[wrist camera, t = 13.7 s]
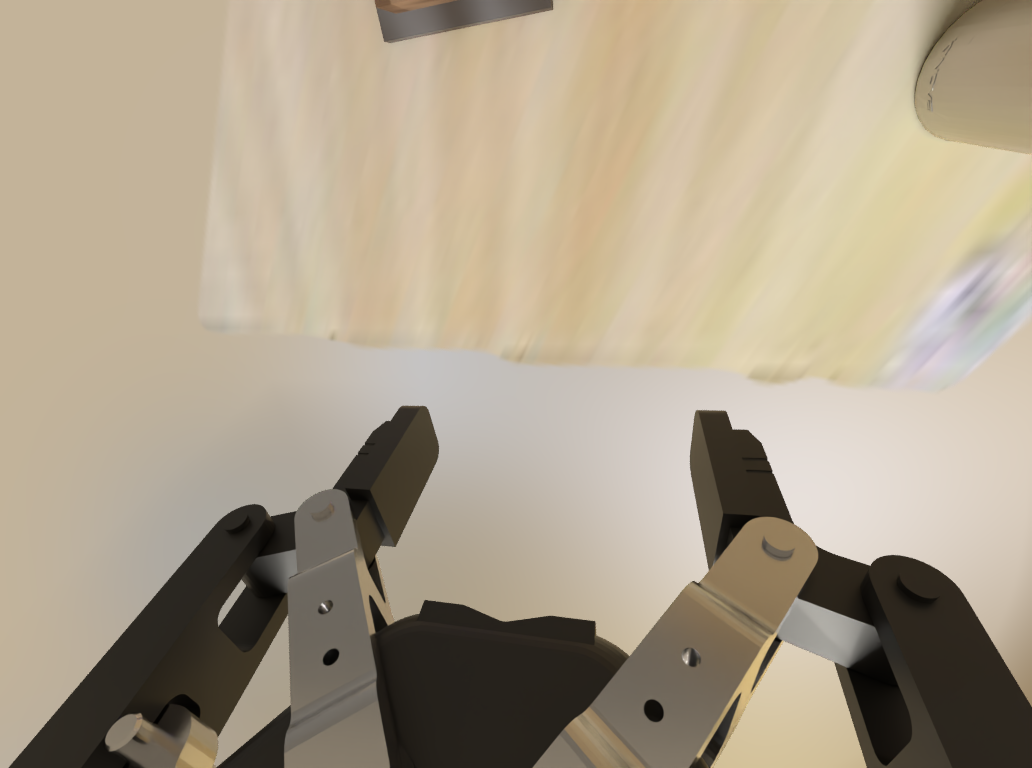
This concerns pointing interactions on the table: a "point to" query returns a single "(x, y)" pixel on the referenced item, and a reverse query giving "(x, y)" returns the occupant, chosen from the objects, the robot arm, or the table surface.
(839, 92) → the table surface
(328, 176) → the table surface
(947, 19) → the table surface
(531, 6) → the open box
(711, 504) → the robot arm
